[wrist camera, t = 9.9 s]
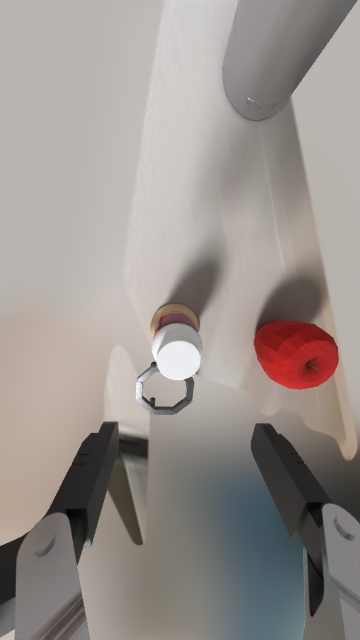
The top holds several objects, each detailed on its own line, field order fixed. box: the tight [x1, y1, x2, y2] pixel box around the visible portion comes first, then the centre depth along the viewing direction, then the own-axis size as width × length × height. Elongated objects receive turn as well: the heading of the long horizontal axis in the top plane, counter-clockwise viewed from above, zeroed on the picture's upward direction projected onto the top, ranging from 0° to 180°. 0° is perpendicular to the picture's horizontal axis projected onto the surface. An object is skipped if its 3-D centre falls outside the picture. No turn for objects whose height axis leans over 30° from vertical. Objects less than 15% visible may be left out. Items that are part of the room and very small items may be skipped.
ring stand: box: [136, 362, 194, 415], centre depth 31 cm, size 10×10×2 cm
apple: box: [254, 321, 339, 390], centre depth 25 cm, size 10×10×11 cm
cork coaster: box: [151, 304, 199, 337], centre depth 29 cm, size 8×8×1 cm
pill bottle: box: [152, 310, 202, 380], centre depth 23 cm, size 6×6×11 cm
